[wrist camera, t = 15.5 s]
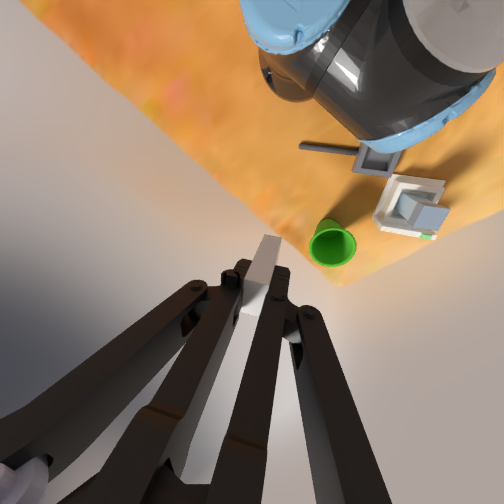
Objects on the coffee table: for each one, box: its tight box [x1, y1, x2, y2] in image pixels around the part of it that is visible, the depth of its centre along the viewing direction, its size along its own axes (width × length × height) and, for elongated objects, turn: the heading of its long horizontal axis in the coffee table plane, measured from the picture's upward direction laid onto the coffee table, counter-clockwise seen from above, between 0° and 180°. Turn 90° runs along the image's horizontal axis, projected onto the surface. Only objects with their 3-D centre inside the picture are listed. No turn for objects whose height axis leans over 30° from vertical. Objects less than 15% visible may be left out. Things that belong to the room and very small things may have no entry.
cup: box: [309, 219, 356, 267], centre depth 46 cm, size 9×9×11 cm
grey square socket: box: [352, 142, 402, 178], centre depth 40 cm, size 7×7×3 cm
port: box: [371, 174, 446, 240], centre depth 40 cm, size 10×10×8 cm
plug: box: [394, 193, 451, 231], centre depth 39 cm, size 4×4×10 cm
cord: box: [299, 144, 358, 156], centre depth 42 cm, size 1×12×1 cm, turn 84°
